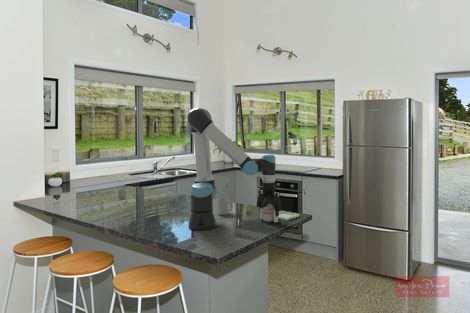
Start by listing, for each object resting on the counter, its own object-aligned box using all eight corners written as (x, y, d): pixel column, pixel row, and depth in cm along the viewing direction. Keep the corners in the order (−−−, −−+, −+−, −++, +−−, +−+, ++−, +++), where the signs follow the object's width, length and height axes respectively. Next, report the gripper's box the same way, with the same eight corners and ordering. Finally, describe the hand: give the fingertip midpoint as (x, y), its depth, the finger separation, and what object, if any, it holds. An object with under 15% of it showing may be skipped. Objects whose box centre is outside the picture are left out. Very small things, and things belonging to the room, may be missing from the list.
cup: (216, 212, 247) (215, 198, 246) (231, 211, 249) (231, 197, 248) (218, 215, 240) (218, 201, 239) (234, 214, 242) (234, 200, 241)
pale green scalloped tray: (286, 220, 224) (286, 218, 224) (267, 216, 234) (267, 214, 234) (299, 216, 234) (299, 214, 234) (280, 213, 244) (280, 210, 243)
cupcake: (257, 221, 224) (257, 204, 223) (267, 218, 231) (267, 201, 231) (271, 223, 218) (270, 206, 217) (280, 220, 225) (280, 203, 225)
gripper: (288, 182, 218) (288, 222, 220) (258, 179, 233) (258, 216, 235) (280, 184, 213) (280, 225, 215) (250, 180, 228) (250, 218, 230)
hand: (269, 220), depth 225 cm, fingers closed on cupcake, 9 cm apart
